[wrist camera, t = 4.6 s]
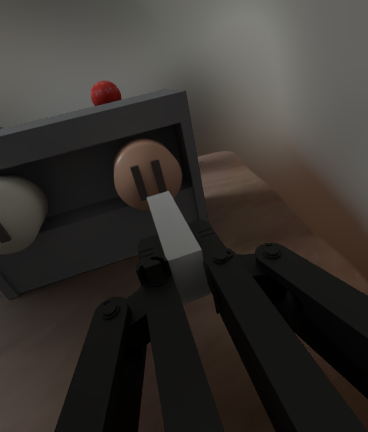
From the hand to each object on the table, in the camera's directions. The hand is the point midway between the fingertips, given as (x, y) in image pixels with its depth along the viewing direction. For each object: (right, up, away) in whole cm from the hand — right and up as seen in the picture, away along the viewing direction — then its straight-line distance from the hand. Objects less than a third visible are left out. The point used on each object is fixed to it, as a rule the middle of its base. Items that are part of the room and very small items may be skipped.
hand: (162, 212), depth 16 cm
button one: (-14, -3, +7) cm, 16 cm away
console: (-8, -4, +16) cm, 19 cm away
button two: (-2, +1, +8) cm, 9 cm away
